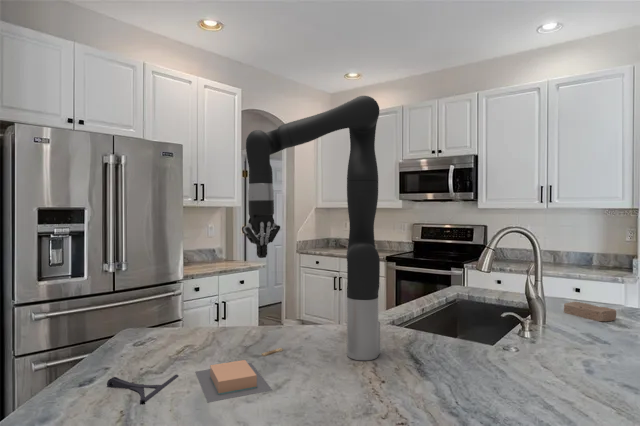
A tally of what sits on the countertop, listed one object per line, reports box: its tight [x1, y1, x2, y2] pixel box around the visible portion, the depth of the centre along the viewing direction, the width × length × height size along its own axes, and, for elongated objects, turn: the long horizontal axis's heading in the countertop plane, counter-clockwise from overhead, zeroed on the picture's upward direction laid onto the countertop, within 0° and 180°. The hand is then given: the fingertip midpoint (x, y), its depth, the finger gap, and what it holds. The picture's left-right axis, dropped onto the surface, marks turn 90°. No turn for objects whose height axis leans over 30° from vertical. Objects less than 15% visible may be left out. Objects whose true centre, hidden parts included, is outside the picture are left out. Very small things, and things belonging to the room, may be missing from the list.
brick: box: [563, 301, 617, 322], centre depth 168 cm, size 17×8×5 cm, turn 23°
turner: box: [261, 347, 284, 357], centre depth 123 cm, size 13×3×1 cm, turn 134°
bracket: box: [106, 374, 180, 405], centre depth 102 cm, size 14×15×3 cm
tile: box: [209, 359, 257, 395], centre depth 104 cm, size 9×3×11 cm
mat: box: [195, 362, 273, 403], centre depth 105 cm, size 15×19×1 cm
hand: (262, 257), depth 126 cm, fingers closed
